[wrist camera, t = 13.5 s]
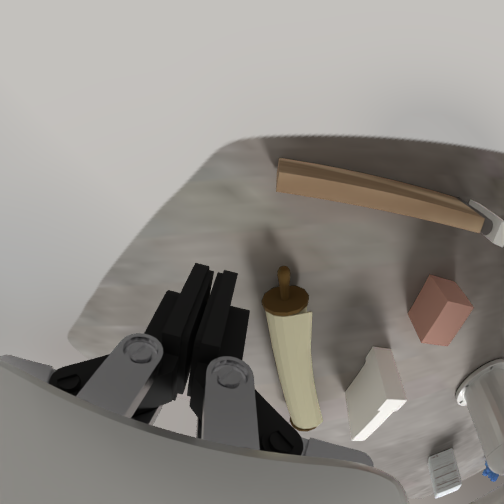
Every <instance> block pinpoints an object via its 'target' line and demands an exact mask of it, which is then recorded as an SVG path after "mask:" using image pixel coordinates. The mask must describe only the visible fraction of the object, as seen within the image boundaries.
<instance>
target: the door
mask: <svg viewBox="0 0 504 504" xmlns="http://www.w3.org/2000/svg"><path fill="white" fill-rule="evenodd" d="M276 192H283V193H289V194H295V195H302V196H308V197H314V198H320V199H325V200H331V201H337V202H342V203H347V204H353V205H358V206H363V207H368V208H373V209H378V210H383V211H388V212H393V213H397V214H402V215H406V216H411V217H415V218H420V219H424V220H428V221H433V222H437V223H441V224H445V225H449V226H453V227H457V228H461V229H465V230H469V231H472V232H476V233H480V232H481V233H482V234H483V235H488V234H489V233H490V232H491V231H492V229H493V222H492V220H490V219H489V218H488V217H486V216H485V215H484V214H482V213H481V212H479V211H478V210H477V209H475V208H474V207H472V206H471V205H469V204H468V203H467V202H465V201H464V200H462V199H461V198H459V197H453V196H450V195H446V194H443V193H440V192H436V191H433V190H429V189H425V188H422V187H418V186H414V185H411V184H407V183H403V182H399V181H395V180H391V179H386V178H382V177H378V176H374V175H369V174H365V173H360V172H355V171H350V170H346V169H341V168H336V167H330V166H325V165H320V164H314V163H308V162H302V161H296V160H290V159H284V158H279V163H278V169H277V184H276Z"/></svg>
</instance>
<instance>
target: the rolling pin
mask: <svg viewBox="0 0 504 504" xmlns="http://www.w3.org/2000/svg"><path fill="white" fill-rule="evenodd" d="M277 276H278V281H279V286H280V287H275V288H272V289H271V290H269V291H268V292H267V293H265V294H264V297H263V299H262V305H263V307H264V309H265V311H266V317H267V322H268V327H269V333H270V338H271V344H272V349H273V353H274V357H275V362H276V366H277V370H278V375H279V379H280V383H281V386H282V390H283V393H284V397H285V401H286V404H287V407H288V410H289V413H290V422H291V424H292V426H293V428H295V429H297V430H299V431H310V430H312V429H315V428H316V427H317V426H318V425H319V424H321V423H322V422H323V419H322V415H321V411H320V408H319V404H318V399H317V395H316V390H315V384H314V377H313V370H312V359H311V329H312V312H311V311H310V312H307V304H308V300H309V295H308V294H307V292H306V291H305V289H303V288H300V287H298V286H295V285H294V286H289V284H290V270H289V268H288V267H287V266H281V267H280V268H279V269H278V274H277Z"/></svg>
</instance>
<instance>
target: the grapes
mask: <svg viewBox="0 0 504 504" xmlns="http://www.w3.org/2000/svg"><path fill="white" fill-rule="evenodd" d="M485 462H486V463H485V465H486V469H485V470H484V471H483V474H482V475H485V476H487V475H488V477H489V478H491V481H493V482H494V481H496V480H497V478H498V476H499V474H496V473H494V472H493V471H491V470H490V468H489V467H488V464H487V461H485Z"/></svg>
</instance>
